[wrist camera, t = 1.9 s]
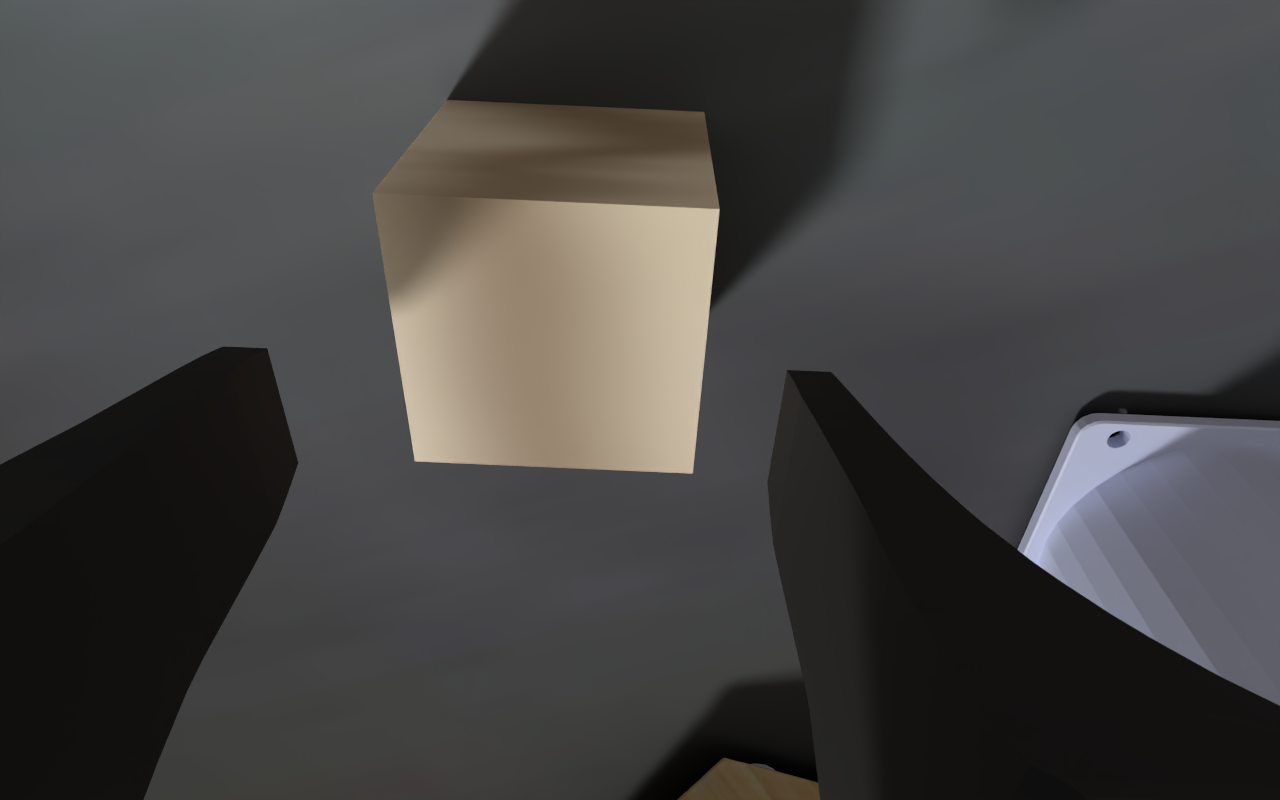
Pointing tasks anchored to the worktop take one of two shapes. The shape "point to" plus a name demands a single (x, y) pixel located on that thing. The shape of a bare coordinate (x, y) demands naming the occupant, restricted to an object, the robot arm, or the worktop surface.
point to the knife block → (750, 784)
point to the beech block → (552, 284)
